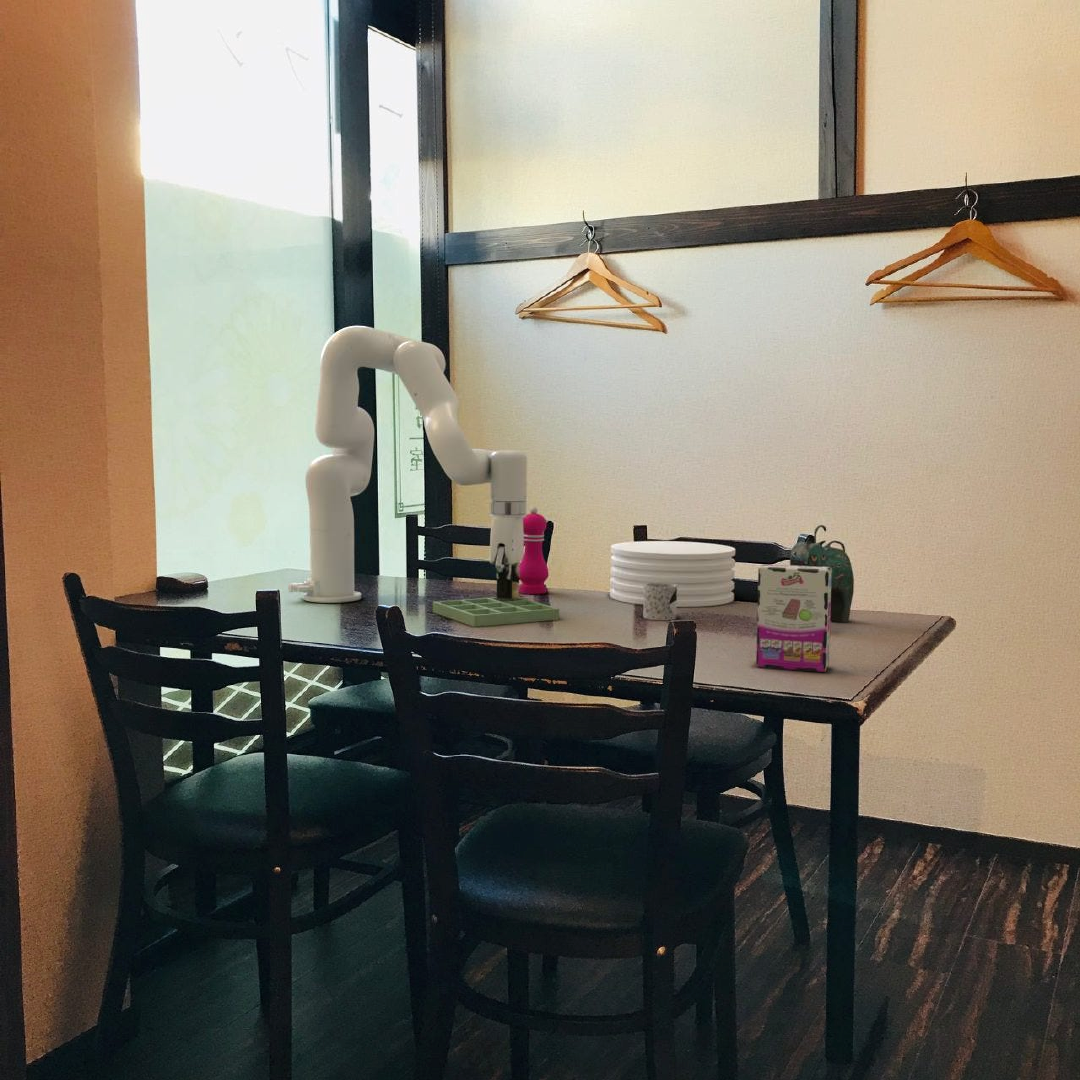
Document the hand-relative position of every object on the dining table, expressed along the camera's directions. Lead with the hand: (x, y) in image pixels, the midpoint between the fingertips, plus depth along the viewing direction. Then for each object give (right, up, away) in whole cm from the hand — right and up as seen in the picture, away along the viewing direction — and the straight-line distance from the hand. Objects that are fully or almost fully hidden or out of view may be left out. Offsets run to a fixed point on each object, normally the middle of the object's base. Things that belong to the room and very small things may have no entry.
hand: (507, 595), depth 234 cm
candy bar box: (+47, -9, -54) cm, 72 cm away
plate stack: (+37, -2, +20) cm, 42 cm away
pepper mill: (+5, -1, +25) cm, 26 cm away
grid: (-2, -4, -8) cm, 9 cm away
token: (0, 0, 0) cm, 0 cm away
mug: (+31, -4, -6) cm, 32 cm away
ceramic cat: (+62, -5, -15) cm, 64 cm away
